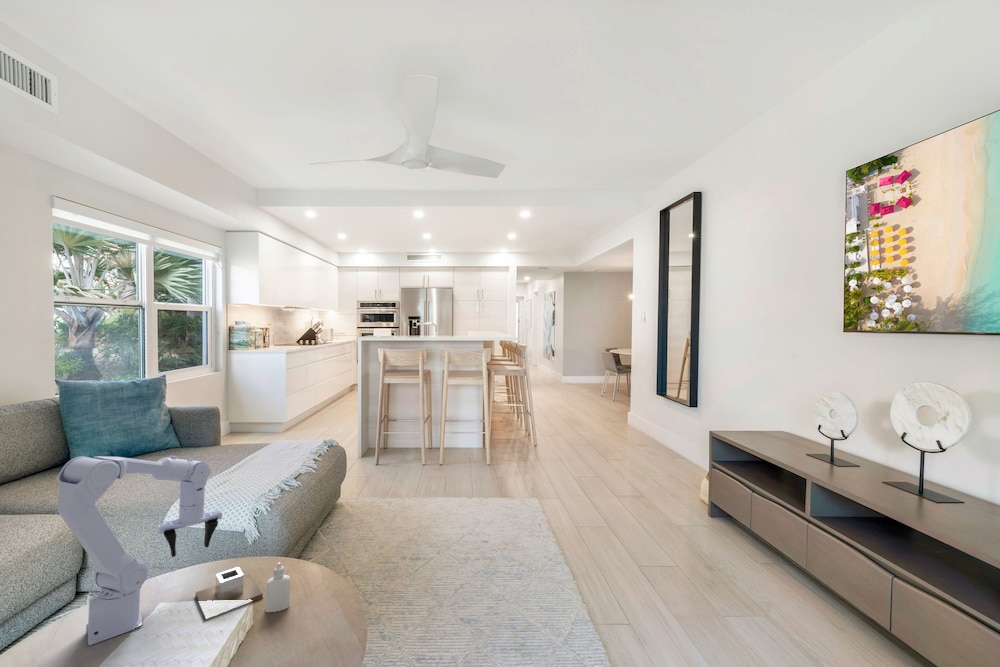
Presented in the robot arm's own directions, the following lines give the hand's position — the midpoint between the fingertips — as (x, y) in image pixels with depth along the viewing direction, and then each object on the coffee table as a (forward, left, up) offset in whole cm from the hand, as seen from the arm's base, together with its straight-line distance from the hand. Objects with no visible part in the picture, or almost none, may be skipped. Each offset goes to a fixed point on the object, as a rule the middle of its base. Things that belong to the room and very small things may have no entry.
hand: (190, 550), depth 118 cm
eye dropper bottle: (+15, -27, -11) cm, 33 cm away
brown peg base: (+7, -13, -10) cm, 18 cm away
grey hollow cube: (+7, -13, -9) cm, 17 cm away
